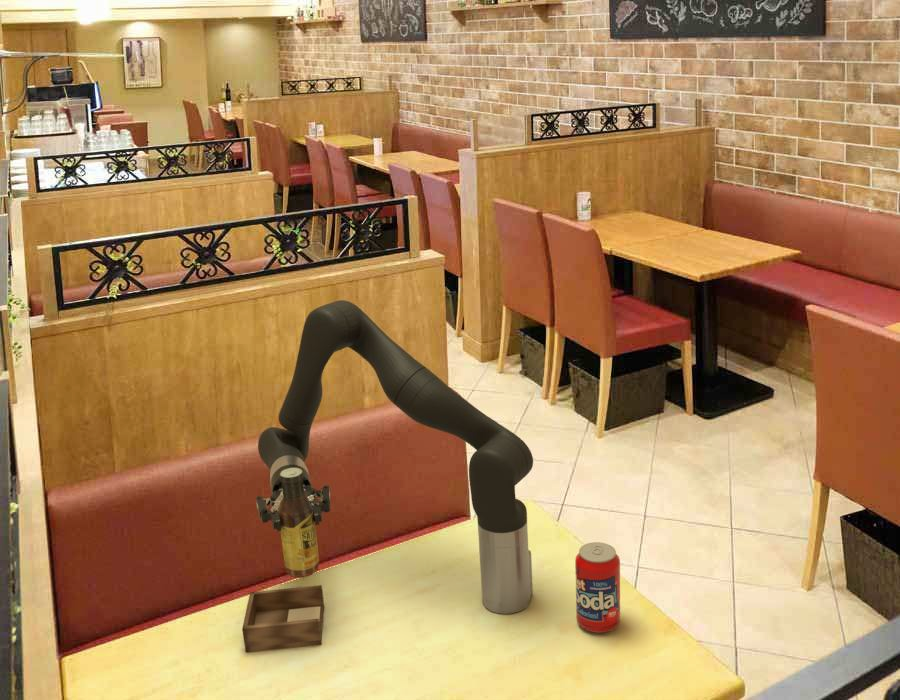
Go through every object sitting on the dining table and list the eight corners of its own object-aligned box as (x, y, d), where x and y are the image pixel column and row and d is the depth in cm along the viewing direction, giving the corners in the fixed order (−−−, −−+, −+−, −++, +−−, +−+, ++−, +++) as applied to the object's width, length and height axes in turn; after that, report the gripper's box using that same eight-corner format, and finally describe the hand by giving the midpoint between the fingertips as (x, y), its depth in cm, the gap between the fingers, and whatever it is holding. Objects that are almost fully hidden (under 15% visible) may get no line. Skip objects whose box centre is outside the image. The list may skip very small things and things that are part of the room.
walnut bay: (324, 607, 178) (321, 585, 176) (321, 644, 167) (318, 621, 165) (253, 614, 177) (250, 592, 175) (245, 652, 166) (242, 628, 165)
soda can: (623, 613, 170) (623, 542, 165) (616, 639, 163) (616, 565, 158) (581, 607, 173) (579, 537, 168) (572, 632, 166) (571, 560, 161)
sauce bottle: (313, 581, 165) (300, 483, 159) (280, 578, 167) (266, 481, 160) (325, 560, 171) (313, 465, 165) (293, 558, 173) (280, 463, 166)
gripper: (250, 469, 176) (254, 511, 160) (325, 458, 179) (336, 498, 163) (255, 504, 178) (259, 549, 163) (329, 492, 181) (340, 535, 166)
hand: (298, 523), depth 163 cm, fingers closed on sauce bottle, 6 cm apart
